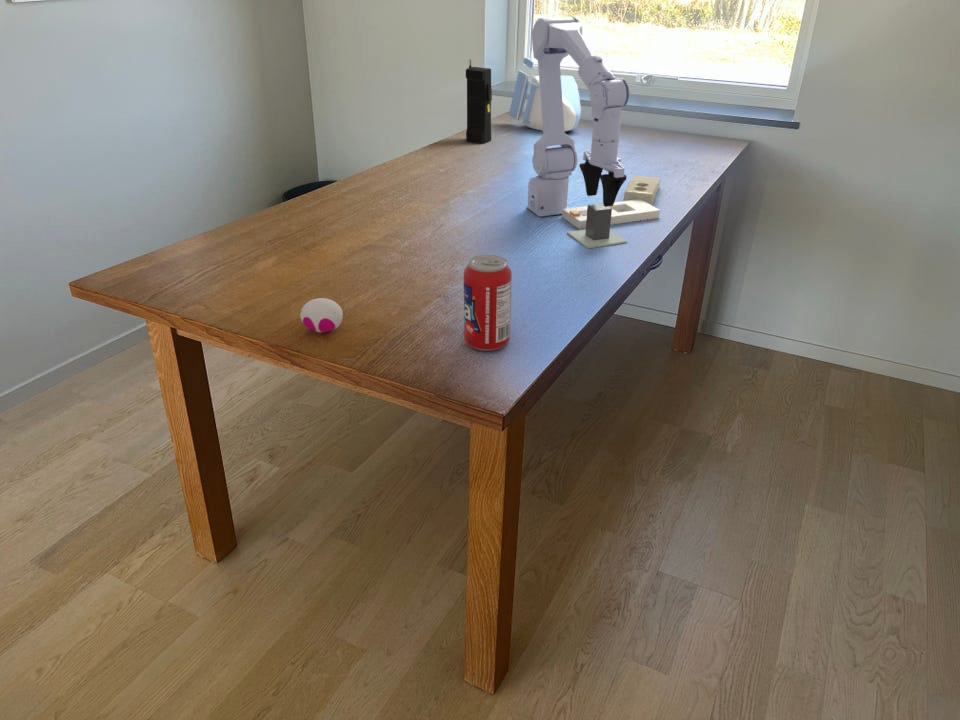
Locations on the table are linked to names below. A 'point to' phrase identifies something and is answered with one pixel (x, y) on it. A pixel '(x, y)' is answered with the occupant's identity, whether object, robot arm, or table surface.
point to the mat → (590, 243)
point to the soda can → (487, 302)
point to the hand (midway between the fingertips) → (599, 200)
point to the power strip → (615, 213)
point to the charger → (598, 221)
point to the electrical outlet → (642, 189)
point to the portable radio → (478, 104)
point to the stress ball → (321, 315)
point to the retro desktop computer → (534, 100)
